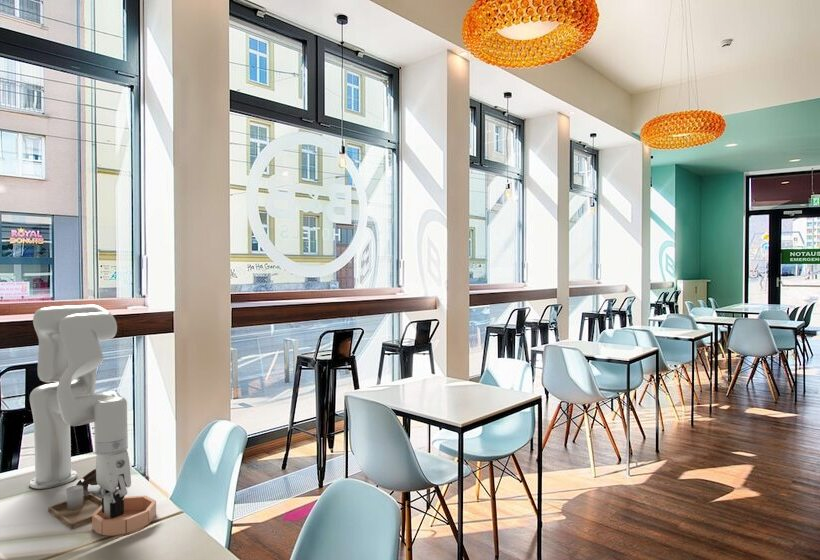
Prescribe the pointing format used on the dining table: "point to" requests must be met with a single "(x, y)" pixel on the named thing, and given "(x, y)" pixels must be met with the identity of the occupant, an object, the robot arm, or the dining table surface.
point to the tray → (76, 511)
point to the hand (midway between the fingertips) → (113, 512)
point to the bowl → (126, 517)
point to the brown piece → (88, 480)
